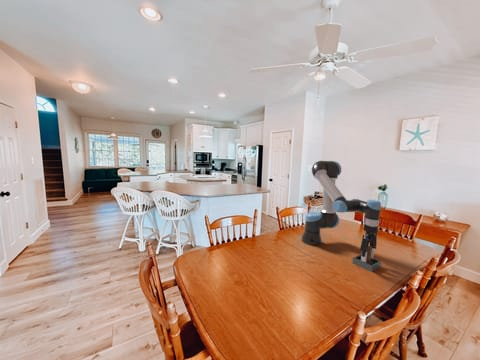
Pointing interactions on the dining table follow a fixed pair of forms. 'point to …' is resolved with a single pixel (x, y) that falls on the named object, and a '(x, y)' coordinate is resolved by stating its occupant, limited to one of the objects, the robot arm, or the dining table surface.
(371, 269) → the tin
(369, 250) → the curved brown wooden bar
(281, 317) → the dining table surface
